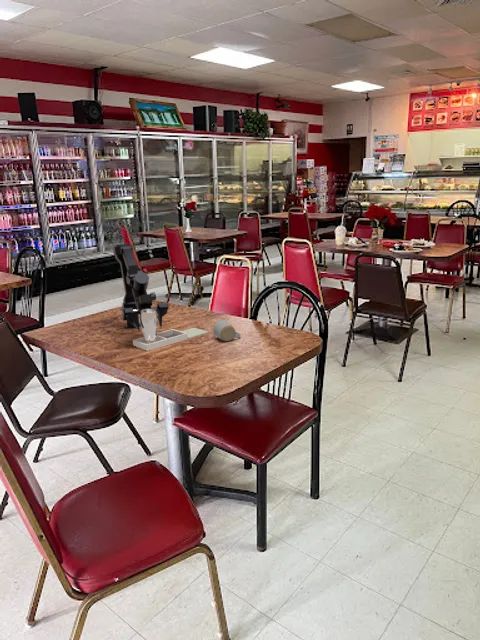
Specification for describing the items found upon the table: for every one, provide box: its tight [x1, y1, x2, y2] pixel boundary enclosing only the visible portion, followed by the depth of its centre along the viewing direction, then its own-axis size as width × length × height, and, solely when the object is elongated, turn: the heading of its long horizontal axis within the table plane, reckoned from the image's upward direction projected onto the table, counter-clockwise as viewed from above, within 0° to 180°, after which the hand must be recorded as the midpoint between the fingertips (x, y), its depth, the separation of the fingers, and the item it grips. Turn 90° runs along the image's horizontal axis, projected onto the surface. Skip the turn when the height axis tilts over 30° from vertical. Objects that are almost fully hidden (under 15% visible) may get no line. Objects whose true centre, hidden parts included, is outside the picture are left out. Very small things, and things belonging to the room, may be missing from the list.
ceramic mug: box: [212, 319, 241, 342], centre depth 204 cm, size 11×8×8 cm
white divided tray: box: [132, 327, 210, 352], centre depth 207 cm, size 32×11×2 cm, turn 133°
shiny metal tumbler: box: [139, 307, 158, 344], centre depth 199 cm, size 7×7×15 cm
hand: (150, 328), depth 197 cm, fingers open, 9 cm apart
